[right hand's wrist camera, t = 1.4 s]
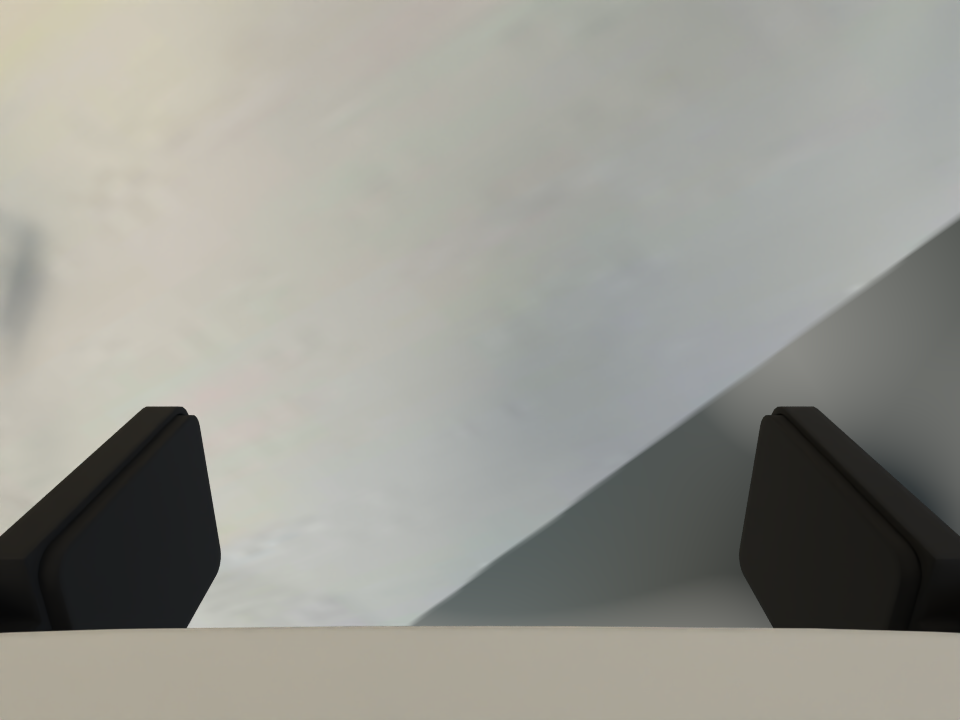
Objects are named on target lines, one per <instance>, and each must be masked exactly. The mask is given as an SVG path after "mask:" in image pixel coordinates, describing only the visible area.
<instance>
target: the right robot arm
mask: <svg viewBox="0 0 960 720" xmlns="http://www.w3.org/2000/svg"><path fill="white" fill-rule="evenodd" d="M220 560H221V551H220V544H219V538H218V532H217V526H216V520H215V514H214V508H213V502H212V496H211V490H210V484H209V478H208V472H207V466H206V460H205V455H204V449H203V443H202V437H201V431H200V425H199V421H198V419H197V417H196V416H194V415H188V413H187V411H186V409H184V408H183V407H145V408H143V409H142V410H141V411H140V412H138V413H137V414H136V415H135V416H134V417H133V418H132V419H131V420H129V421H128V422H127V423H126V424H125V425H124V426H123V427H122V428H121V429H119V430H118V431H117V432H116V433H115V434H114V435H113V436H112V437H111V438H109V439H108V440H107V441H106V442H105V443H104V444H103V445H102V446H100V447H99V448H98V449H97V450H96V451H95V452H94V453H93V454H92V455H90V456H89V457H88V458H87V459H86V460H85V461H84V462H83V463H82V464H80V465H79V466H78V467H77V468H76V469H75V470H74V471H73V472H71V473H70V474H69V475H68V476H67V477H66V478H65V479H64V480H63V481H61V482H60V483H59V484H58V485H57V486H56V487H55V488H54V489H53V490H51V491H50V492H49V493H48V494H47V495H46V496H45V497H44V498H42V499H41V500H40V501H39V502H38V503H37V504H36V505H35V506H34V507H32V508H31V509H30V510H29V511H28V512H27V513H26V514H25V515H24V516H22V517H21V518H20V519H19V520H18V521H17V522H16V523H15V524H13V525H12V526H11V527H10V528H9V529H8V530H7V531H6V532H5V533H3V534H2V535H1V536H0V720H960V536H959V535H958V534H957V533H955V532H954V531H953V530H952V529H951V528H950V527H949V526H948V525H946V524H945V523H944V522H943V521H942V520H941V519H940V518H939V517H938V516H936V515H935V514H934V513H933V512H932V511H931V510H930V509H929V508H928V507H926V506H925V505H924V504H923V503H922V502H921V501H920V500H919V499H917V498H916V497H915V496H914V495H913V494H912V493H911V492H910V491H909V490H907V489H906V488H905V487H904V486H903V485H902V484H901V483H900V482H899V481H897V480H896V479H895V478H894V477H893V476H892V475H891V474H890V473H888V472H887V471H886V470H885V469H884V468H883V467H882V466H881V465H880V464H878V463H877V462H876V461H875V460H874V459H873V458H872V457H871V456H870V455H868V454H867V453H866V452H865V451H864V450H863V449H862V448H861V447H859V446H858V445H857V444H856V443H855V442H854V441H853V440H852V439H851V438H849V437H848V436H847V435H846V434H845V433H844V432H843V431H842V430H841V429H839V428H838V427H837V426H836V425H835V424H834V423H833V422H831V421H830V420H829V419H828V418H827V417H826V416H825V415H824V414H823V413H822V412H820V411H819V410H818V409H817V408H815V407H777V408H776V409H774V411H773V413H772V415H766V416H765V417H763V419H762V421H761V425H760V431H759V437H758V443H757V449H756V455H755V460H754V466H753V473H752V478H751V484H750V491H749V496H748V502H747V508H746V514H745V520H744V526H743V532H742V538H741V544H740V551H739V560H740V566H741V570H742V572H743V575H744V577H745V578H746V580H747V582H748V584H749V585H750V587H751V589H752V591H753V593H754V594H755V596H756V598H757V600H758V601H759V603H760V605H761V607H762V608H763V610H764V612H765V614H766V616H767V617H768V619H769V621H770V623H771V625H772V626H773V628H697V627H696V628H695V627H582V626H346V627H257V628H187V626H188V625H189V623H190V621H191V619H192V617H193V616H194V614H195V612H196V610H197V609H198V607H199V605H200V603H201V601H202V600H203V598H204V596H205V594H206V593H207V591H208V589H209V587H210V585H211V584H212V582H213V580H214V578H215V577H216V575H217V572H218V570H219V566H220Z"/></svg>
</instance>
